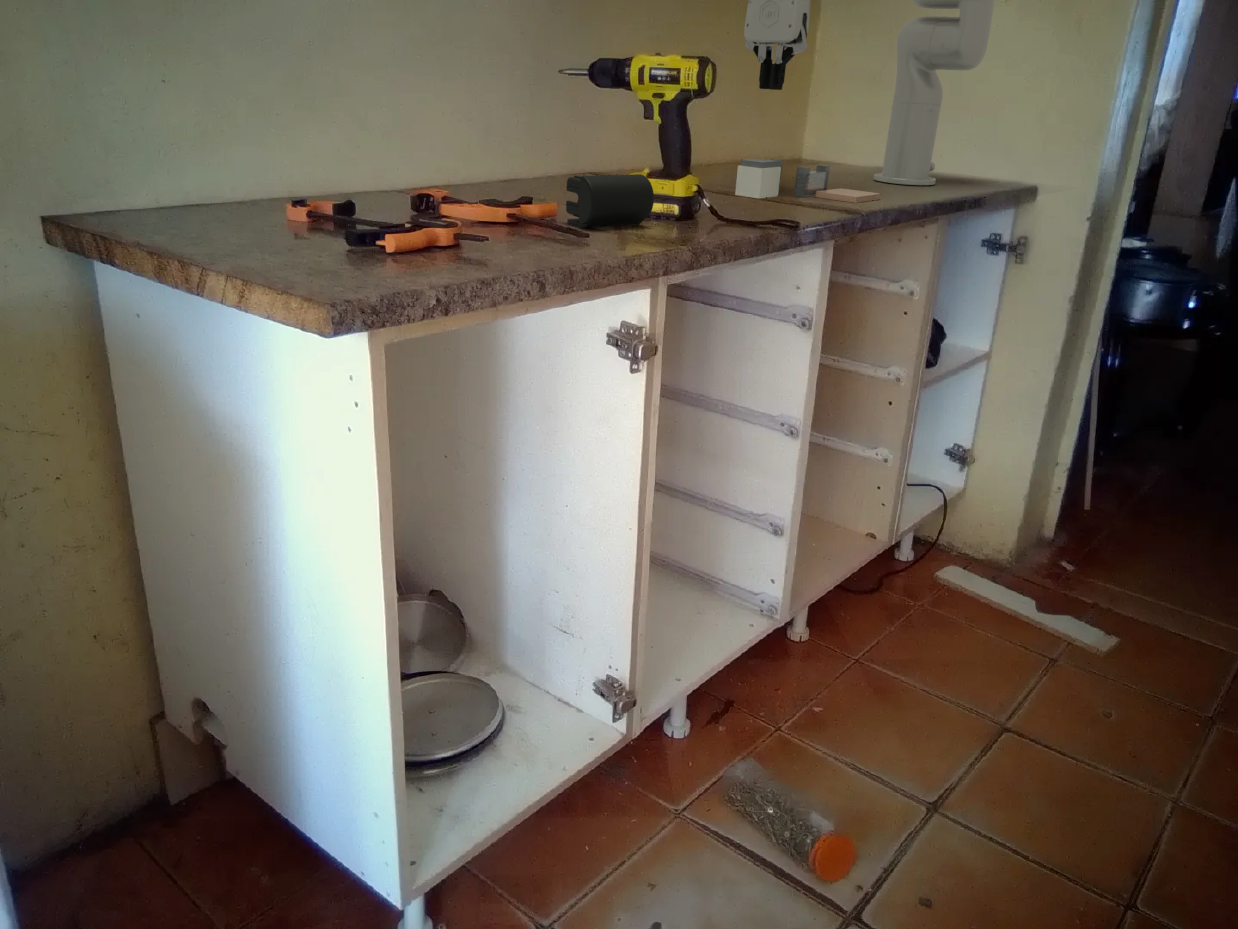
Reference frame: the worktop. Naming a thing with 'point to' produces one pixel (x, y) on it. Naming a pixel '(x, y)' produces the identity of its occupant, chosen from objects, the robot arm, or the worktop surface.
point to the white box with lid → (758, 178)
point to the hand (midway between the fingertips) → (770, 88)
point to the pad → (848, 195)
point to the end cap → (609, 200)
